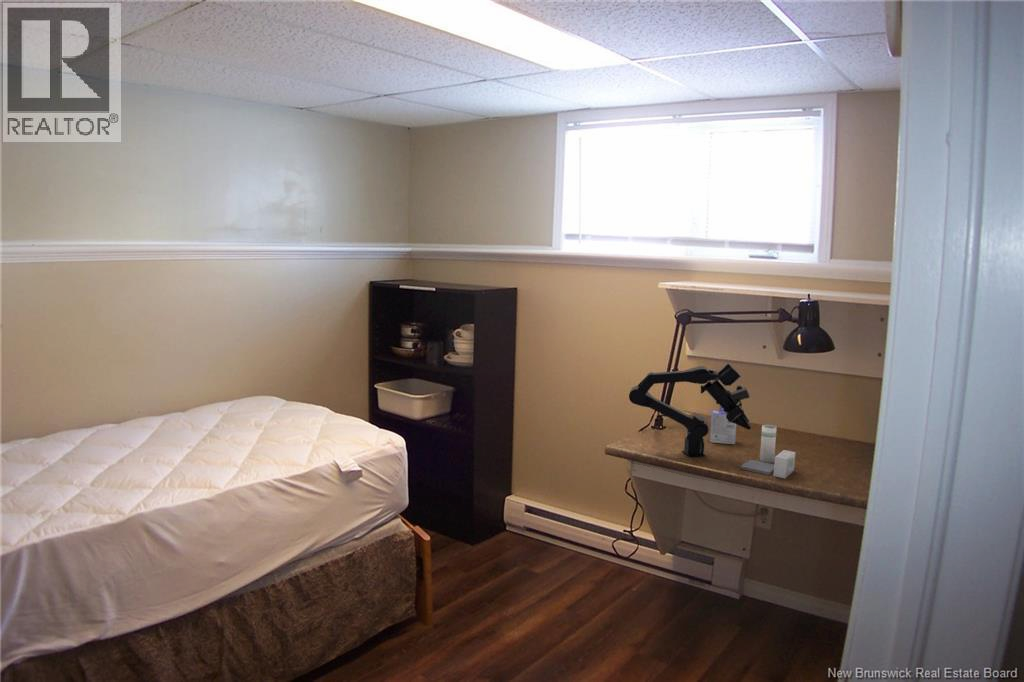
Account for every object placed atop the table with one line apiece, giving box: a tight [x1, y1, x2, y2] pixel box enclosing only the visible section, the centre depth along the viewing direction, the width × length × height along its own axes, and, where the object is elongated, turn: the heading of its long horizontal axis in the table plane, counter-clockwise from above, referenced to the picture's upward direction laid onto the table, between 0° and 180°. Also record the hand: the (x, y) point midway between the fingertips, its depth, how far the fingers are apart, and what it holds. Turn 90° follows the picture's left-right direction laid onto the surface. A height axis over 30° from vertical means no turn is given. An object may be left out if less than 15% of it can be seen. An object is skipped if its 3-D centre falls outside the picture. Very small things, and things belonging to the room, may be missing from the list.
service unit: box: [773, 449, 796, 479], centre depth 249 cm, size 4×10×7 cm, turn 143°
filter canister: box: [759, 424, 778, 464], centre depth 262 cm, size 5×5×13 cm
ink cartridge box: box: [709, 405, 738, 445], centre depth 285 cm, size 10×6×14 cm, turn 78°
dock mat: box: [740, 459, 774, 476], centre depth 254 cm, size 10×10×1 cm
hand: (749, 425), depth 263 cm, fingers open, 9 cm apart
